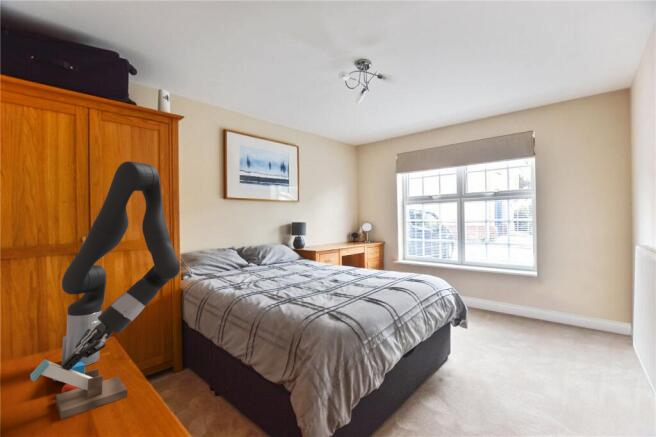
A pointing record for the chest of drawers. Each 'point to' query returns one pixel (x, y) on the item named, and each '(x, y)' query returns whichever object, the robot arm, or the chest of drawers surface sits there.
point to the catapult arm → (60, 374)
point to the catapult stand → (90, 395)
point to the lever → (79, 368)
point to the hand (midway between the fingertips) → (64, 368)
